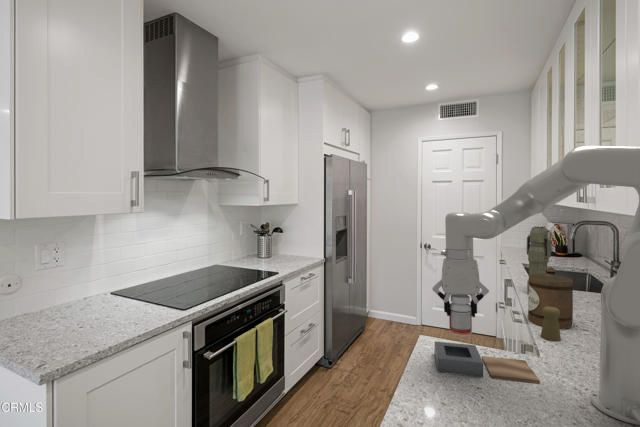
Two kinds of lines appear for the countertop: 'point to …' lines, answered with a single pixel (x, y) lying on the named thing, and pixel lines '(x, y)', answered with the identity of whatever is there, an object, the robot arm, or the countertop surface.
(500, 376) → the brown pad
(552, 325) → the cork
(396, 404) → the countertop surface
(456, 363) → the metal collar
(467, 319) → the pill bottle
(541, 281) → the wooden container
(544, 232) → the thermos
